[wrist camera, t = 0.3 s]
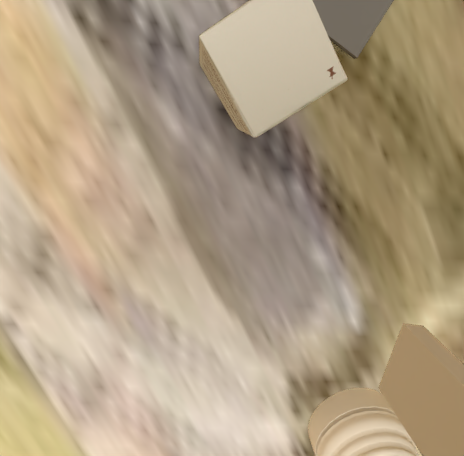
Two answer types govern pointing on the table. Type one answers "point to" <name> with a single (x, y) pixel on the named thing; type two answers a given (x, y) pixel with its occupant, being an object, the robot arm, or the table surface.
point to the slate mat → (351, 21)
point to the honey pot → (358, 426)
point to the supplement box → (269, 62)
